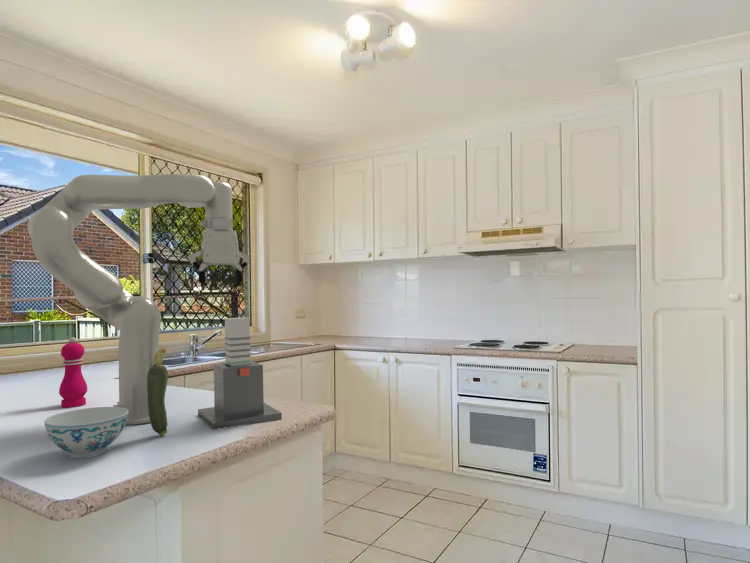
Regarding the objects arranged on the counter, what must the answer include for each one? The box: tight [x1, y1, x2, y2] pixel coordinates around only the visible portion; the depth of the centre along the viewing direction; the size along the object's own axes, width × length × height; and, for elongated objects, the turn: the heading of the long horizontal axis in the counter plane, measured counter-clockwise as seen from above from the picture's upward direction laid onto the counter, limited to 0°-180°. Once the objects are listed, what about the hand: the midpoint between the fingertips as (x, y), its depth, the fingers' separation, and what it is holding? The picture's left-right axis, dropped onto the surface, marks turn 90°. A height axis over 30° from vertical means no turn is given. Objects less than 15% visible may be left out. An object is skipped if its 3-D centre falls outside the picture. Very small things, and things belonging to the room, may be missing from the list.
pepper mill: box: [58, 336, 89, 408], centre depth 149 cm, size 7×7×20 cm
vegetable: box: [147, 347, 169, 436], centre depth 115 cm, size 4×4×20 cm
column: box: [224, 316, 251, 367], centre depth 131 cm, size 5×5×18 cm
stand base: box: [197, 360, 283, 430], centre depth 131 cm, size 17×17×14 cm
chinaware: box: [43, 406, 128, 459], centre depth 104 cm, size 15×15×8 cm
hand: (220, 285), depth 146 cm, fingers open, 9 cm apart
